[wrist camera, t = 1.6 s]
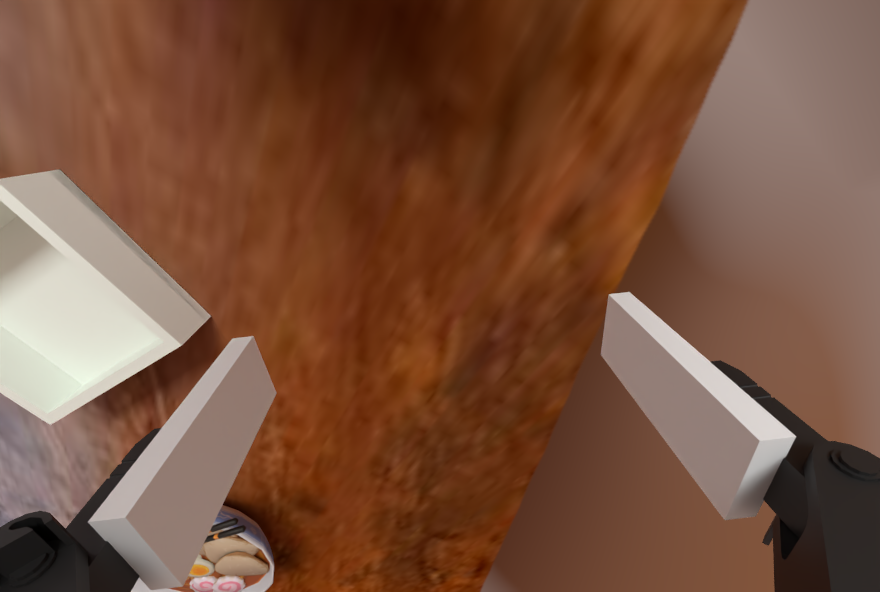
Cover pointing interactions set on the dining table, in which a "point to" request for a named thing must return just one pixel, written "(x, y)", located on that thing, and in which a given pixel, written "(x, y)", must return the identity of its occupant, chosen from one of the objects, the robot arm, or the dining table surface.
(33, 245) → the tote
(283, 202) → the dining table surface
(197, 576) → the ramen bowl
